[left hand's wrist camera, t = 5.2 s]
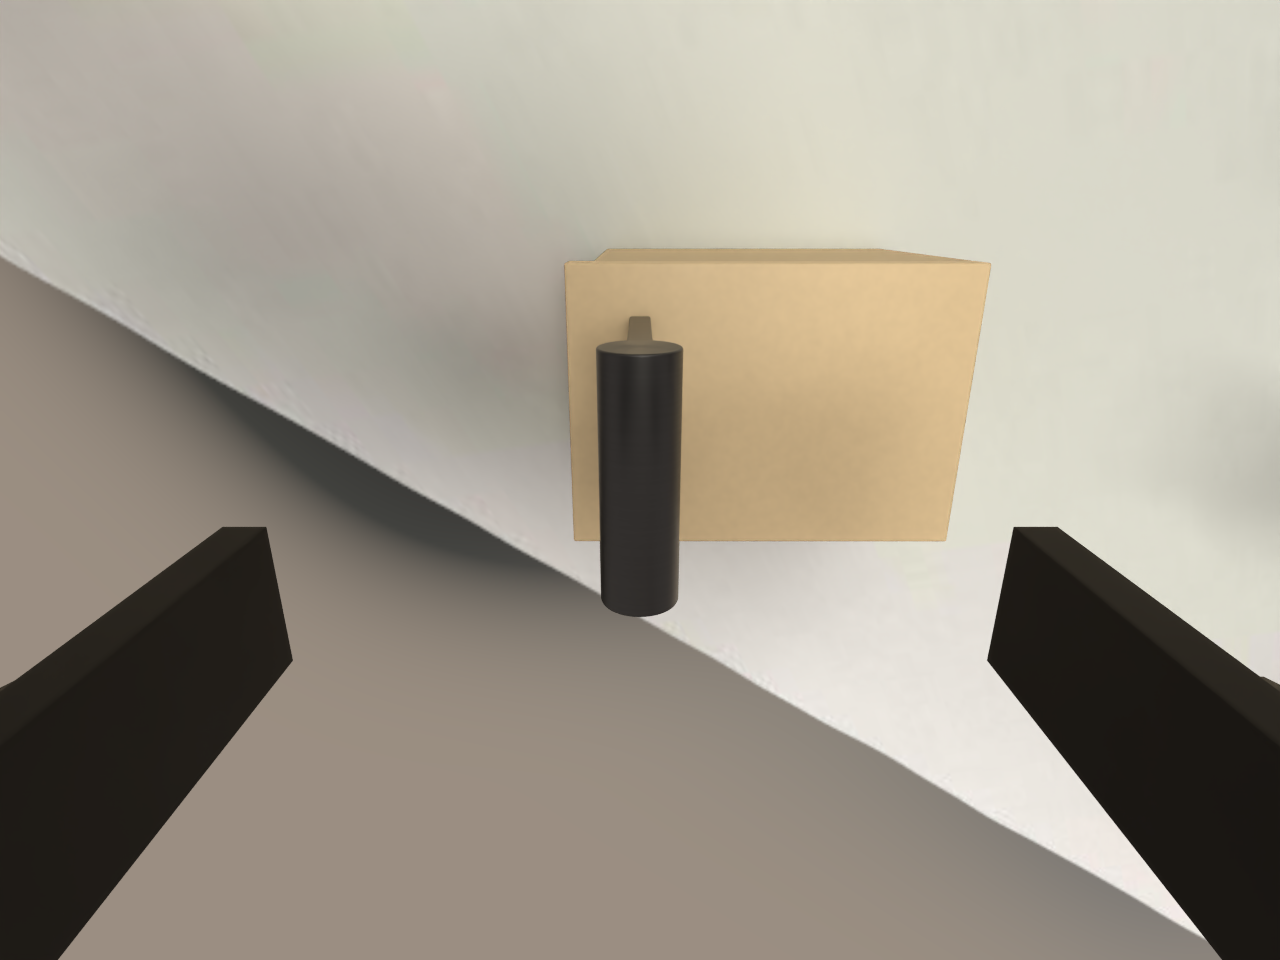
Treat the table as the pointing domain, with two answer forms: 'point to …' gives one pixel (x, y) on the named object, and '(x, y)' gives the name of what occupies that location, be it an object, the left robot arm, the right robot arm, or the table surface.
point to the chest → (764, 255)
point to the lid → (763, 406)
